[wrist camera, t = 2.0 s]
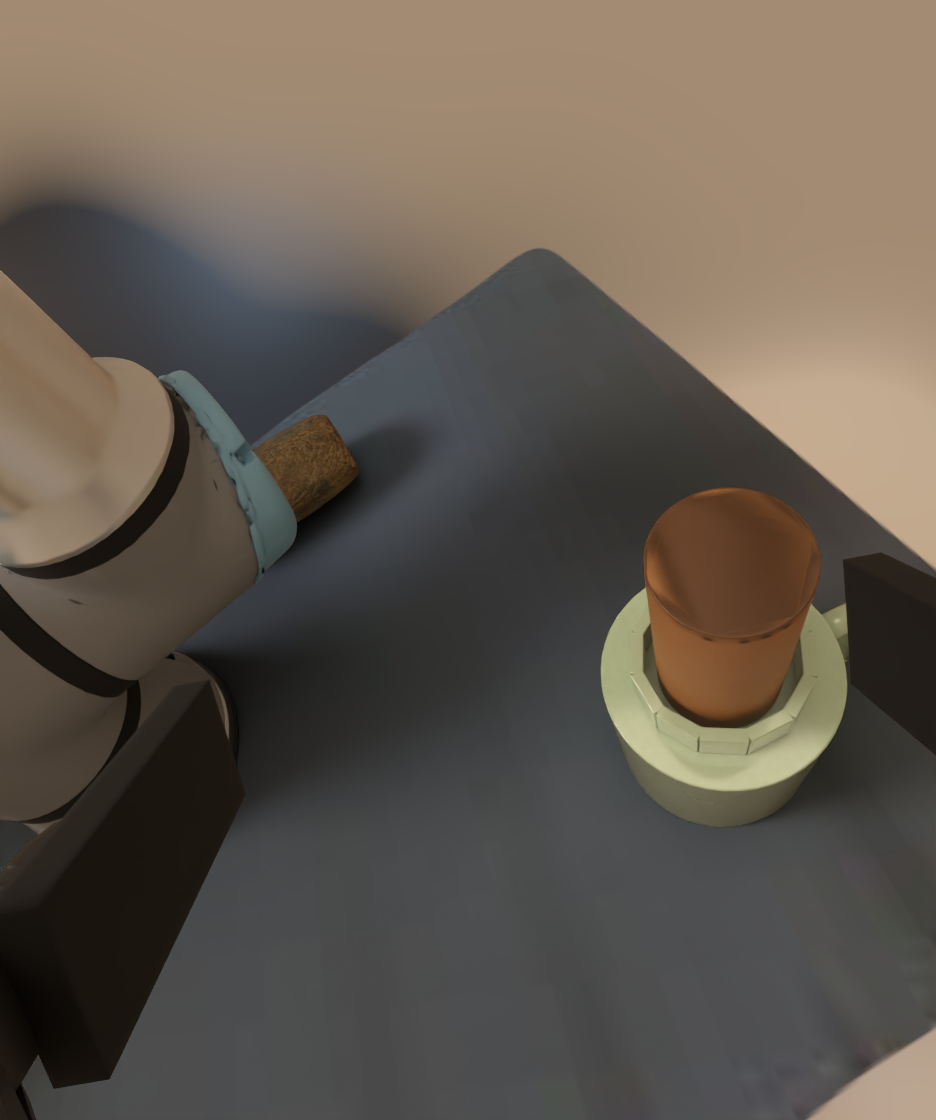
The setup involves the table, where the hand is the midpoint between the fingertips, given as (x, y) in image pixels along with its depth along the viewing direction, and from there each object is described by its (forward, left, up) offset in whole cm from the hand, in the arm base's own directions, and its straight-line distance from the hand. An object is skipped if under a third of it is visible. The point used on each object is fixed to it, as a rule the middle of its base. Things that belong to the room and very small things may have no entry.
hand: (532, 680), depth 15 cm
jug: (-4, +9, -33) cm, 35 cm away
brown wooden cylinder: (-35, -13, -33) cm, 50 cm away
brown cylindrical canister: (-4, +7, -21) cm, 23 cm away
